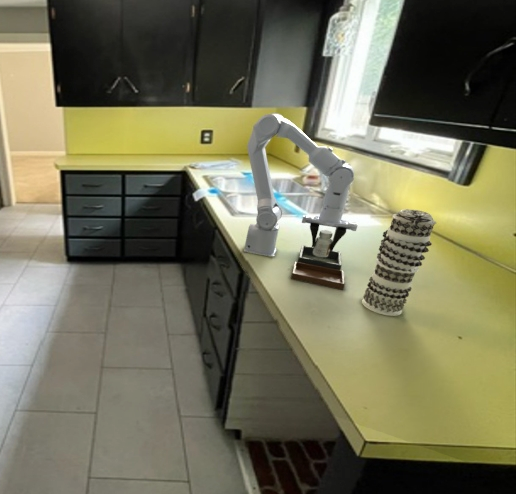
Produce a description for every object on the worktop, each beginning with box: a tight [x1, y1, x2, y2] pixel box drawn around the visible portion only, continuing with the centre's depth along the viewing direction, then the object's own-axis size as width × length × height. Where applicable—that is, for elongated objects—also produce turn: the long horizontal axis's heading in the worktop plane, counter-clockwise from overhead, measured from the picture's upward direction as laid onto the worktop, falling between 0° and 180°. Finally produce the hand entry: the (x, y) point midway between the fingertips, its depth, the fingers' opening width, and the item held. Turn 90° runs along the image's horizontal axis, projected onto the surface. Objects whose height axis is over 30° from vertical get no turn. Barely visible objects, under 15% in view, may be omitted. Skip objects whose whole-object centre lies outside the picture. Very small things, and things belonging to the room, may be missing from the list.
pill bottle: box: [313, 229, 333, 258], centre depth 113 cm, size 4×4×8 cm
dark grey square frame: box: [297, 244, 342, 270], centre depth 115 cm, size 11×11×3 cm
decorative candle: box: [361, 208, 437, 317], centre depth 87 cm, size 9×9×25 cm
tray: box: [290, 261, 346, 291], centre depth 106 cm, size 13×9×2 cm
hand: (321, 247), depth 113 cm, fingers closed on pill bottle, 4 cm apart
